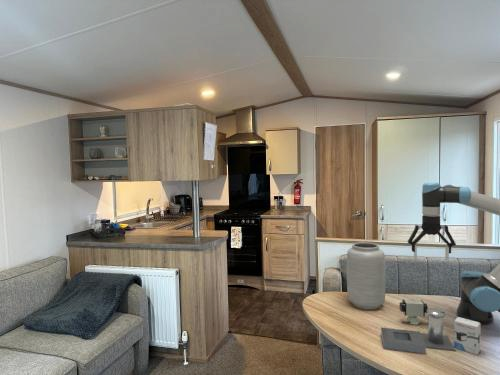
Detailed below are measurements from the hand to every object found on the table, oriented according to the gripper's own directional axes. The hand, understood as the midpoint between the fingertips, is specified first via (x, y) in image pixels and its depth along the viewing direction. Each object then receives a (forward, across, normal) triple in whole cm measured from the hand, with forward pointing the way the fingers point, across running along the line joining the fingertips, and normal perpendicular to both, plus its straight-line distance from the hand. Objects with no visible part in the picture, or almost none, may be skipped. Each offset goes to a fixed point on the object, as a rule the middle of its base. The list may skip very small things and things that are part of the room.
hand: (431, 259), depth 158 cm
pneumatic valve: (+32, +8, +1) cm, 33 cm away
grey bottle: (+31, +2, +18) cm, 36 cm away
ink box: (+32, -9, +21) cm, 39 cm away
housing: (+32, +16, +23) cm, 42 cm away
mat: (+32, +2, +18) cm, 37 cm away
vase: (+32, +29, -17) cm, 46 cm away
